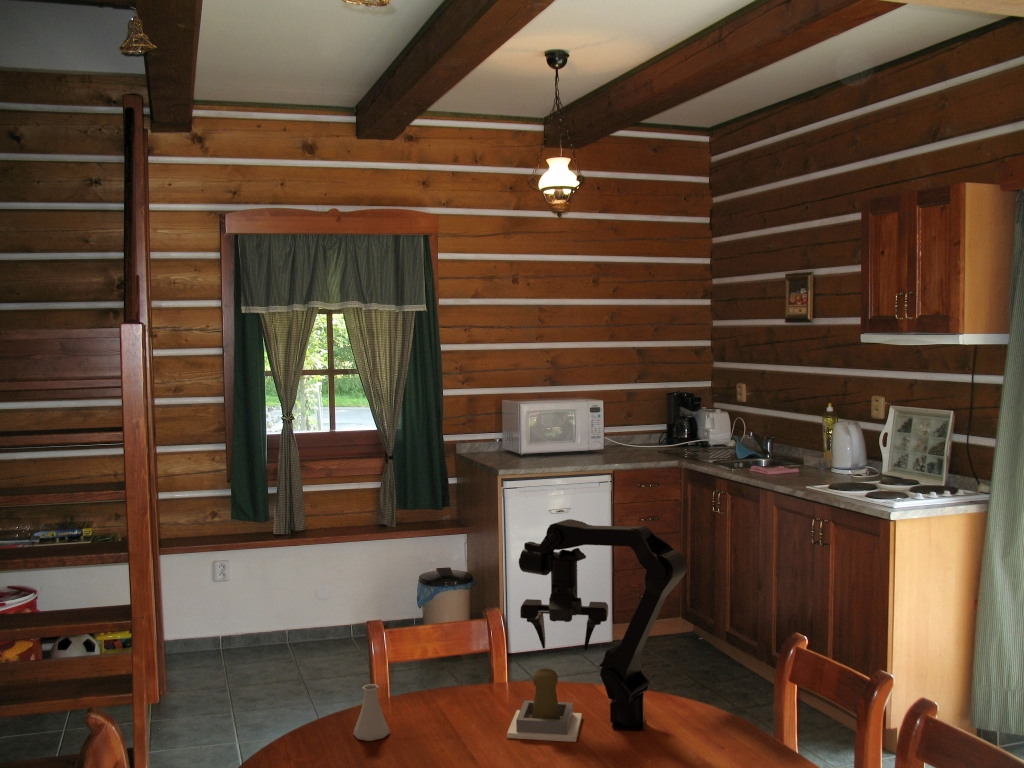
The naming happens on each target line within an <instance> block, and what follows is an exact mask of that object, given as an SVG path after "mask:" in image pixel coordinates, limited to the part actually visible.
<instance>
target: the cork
mask: <svg viewBox="0 0 1024 768" xmlns="http://www.w3.org/2000/svg"><path fill="white" fill-rule="evenodd" d="M558 679H559V676H558V674H557V672H556V671H555V670H554V669H551V668H540V669H537V670H536V671H535V672H534V674H533V676H532V681H533V684H534V685H533V686H534V687H535V691H534V697H533V698H534V700H533V701H534V706H533V715H532V718H537V719H556V720H560V715H559V708H558V702H559V701H558V695H557V688H556V686H557V685H558V682H559V680H558Z"/></svg>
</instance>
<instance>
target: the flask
mask: <svg viewBox="0 0 1024 768" xmlns="http://www.w3.org/2000/svg"><path fill="white" fill-rule="evenodd" d="M361 688H362V691H363V702H362V706H361V710H360V712H359V716H358V719H357V722H356V724H355V727H354V729H353V733H352V734H353V735H354V737H355V738H356V740H360V741H361V740H362V741H367V742H371V741H376V740H380V739H384V738H386V736H388V735H389V734H391V731H390V727H389V725H388V723H387V720H386V719H385V717H384V713H383V711H382V708H381V705H380V700H379V696H378V693H379V691H378V690H379V689H380V687H379V685H378V684H375V683H374V684H373V683H369V684H365V685H364V686H362V687H361Z"/></svg>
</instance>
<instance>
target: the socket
mask: <svg viewBox="0 0 1024 768" xmlns="http://www.w3.org/2000/svg"><path fill="white" fill-rule="evenodd" d="M533 706H534V700H527V699H526V700H524V701H523V702H522V706H521V708H520V709H516V712H515V714H514V716H513V718H512V721H511V723H510V725H509V728H508V729H507V730H508V731H507V733H506V738H507V739H519V740H520V739H521V740H523V739H524V740H537V741H538V740H539V741H552V742H553V741H554V742H555V741H558V742H569V743H570V742H575V743H576V742H577V738H578V735H579V731H580V728H581V723H582V720H583V719H582V718H583V717H582V715H583V713H582V712H574V703H573V702H568V701H567V702H565V701H558V708H559V715H560V720H556V719H537V718H532V715H533Z"/></svg>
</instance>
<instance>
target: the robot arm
mask: <svg viewBox="0 0 1024 768" xmlns="http://www.w3.org/2000/svg"><path fill="white" fill-rule="evenodd" d="M523 546H524V547H523V549H522V550H521V553H520V555H519V559H518V565H519V568H520V571H521V572H523V573H528V574H534V575H541V576H548V575H549V574H550V583H551V584H550V587H551V588H550V590H551V591H550V595H549V599H548V601H549V602H548V604H542V603H543V602H542V599H534V598H533V599H531V598H530V599H528V598H527V599H525V600H524V601H523V602H522V604H521V606H520V609H519V611H520V614H519V615H520V616H519V617H520V618H521V619H525V620H526V622H528V623H531V625H533V627H534V628H535V630H536V633H537V635H538V638H539V639H538V640H539V642H540V645H541V648H542V649H546V631H545V629H546V628H545V619H544V618H545V617H544V614H546V615H547V614H548V615H549V620H550V621H551V622H553V623H554V622H555V623H556V622H564V623H569V622H571V621H572V620H573V616H587V621H586V629H585V637H584V651H587V650H588V648H589V647H588V646H589V643H590V640H591V637H592V635H593V633H594V629H595V627H596V626H599V625H601V624H602V622H603V623H604V622H607V621H608V617H609V604H608V603H607V602H605V601H590V602H589V605H588V606H587V605H586V606H585V605H583V604H582V603H583V602H582V598H581V597H578V562H579V561H581V560H585V559H586V558H587V555H586V554H585V553H584V552H583V551H581V550H580V548H579V547H581V546H605V547H607V546H610V547H630V548H631V549H632V550H633V551H634V555H636V558H637V560H638V563H639V564H640V565H641V566H642V567H643V568H644V569H645V574H644V590H643V593H642V595H641V597H640V600H639V602H638V604H637V606H636V609H635V611H634V612H633V613H634V614H633V615H632V618H631V620H630V622H629V624H628V627H627V629H626V631H625V633H624V635H623V638H622V640H621V642H620V643H619V642H618V644H615V645H614V646H612V647H610V648H608V649H606V651H605V653H604V658H603V660H602V662H601V663H600V664H599V665H598V667H599V668H600V671H599V676H600V678H601V681H602V683H603V685H604V687H605V690H606V692H605V693H606V695H607V697H608V699H609V700H610V702H609V712H610V713H609V714H610V715H609V717H610V718H609V719H610V720H609V722H610V723H612V724H611V728H612V729H613V730H626V731H627V730H631V731H644V730H645V720H646V719H645V718H646V716H645V715H644V714H645V712H644V711H645V710H644V709H645V706H644V705H645V702H644V701H645V700H644V698H645V697H644V695H645V694H644V693H645V692H648V691H649V687H650V685H651V682H650V681H649V679H648V678H647V676H646V675H645V673H644V672H642V670H641V667H642V662H643V661H642V660H643V657H642V651H643V648H644V647H645V644H646V642H647V639H648V638H649V636H650V634H651V631H652V629H653V627H654V624H655V623H656V621H657V618H658V616H659V615H660V612H661V609H662V607H663V605H664V603H665V601H666V598H667V596H668V595H669V594H670V593H671V592H672V591H673V590H674V589H675V587H676V586H677V585H678V584H679V583H680V581H681V580H682V578H684V576H685V575H686V573H687V571H688V563H687V560H686V558H685V556H684V554H682V553H681V552H679V551H677V550H676V549H674V547H672V546H671V544H670V543H669V542H667V541H665V540H664V539H662V538H661V537H659V536H658V535H656V534H655V533H654V532H653V531H652V530H651V529H650V528H649V527H647V526H646V525H638V526H629V525H628V526H626V525H625V526H624V525H623V526H622V525H592V524H588V523H586V522H584V521H580V520H577V519H573V518H571V519H569V518H568V519H565V520H561V521H558V522H554V523H551V524H550V525H549V526H548V527H547V529H546V535H544V538H543V539H542V541H541V542H540V543H537V542H534V541H527V542H525V543H524V545H523ZM571 548H573V549H572V550H568V549H571ZM558 550H559V551H558Z"/></svg>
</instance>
